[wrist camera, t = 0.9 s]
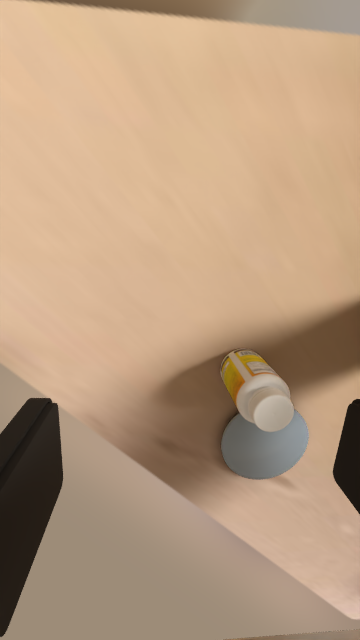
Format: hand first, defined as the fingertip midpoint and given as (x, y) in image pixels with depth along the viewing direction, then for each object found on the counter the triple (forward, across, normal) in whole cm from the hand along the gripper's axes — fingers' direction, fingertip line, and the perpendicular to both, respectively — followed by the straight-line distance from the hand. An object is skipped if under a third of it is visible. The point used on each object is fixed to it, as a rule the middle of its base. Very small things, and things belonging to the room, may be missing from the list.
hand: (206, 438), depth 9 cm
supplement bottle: (+25, -9, +9) cm, 28 cm away
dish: (+25, -14, +20) cm, 35 cm away
